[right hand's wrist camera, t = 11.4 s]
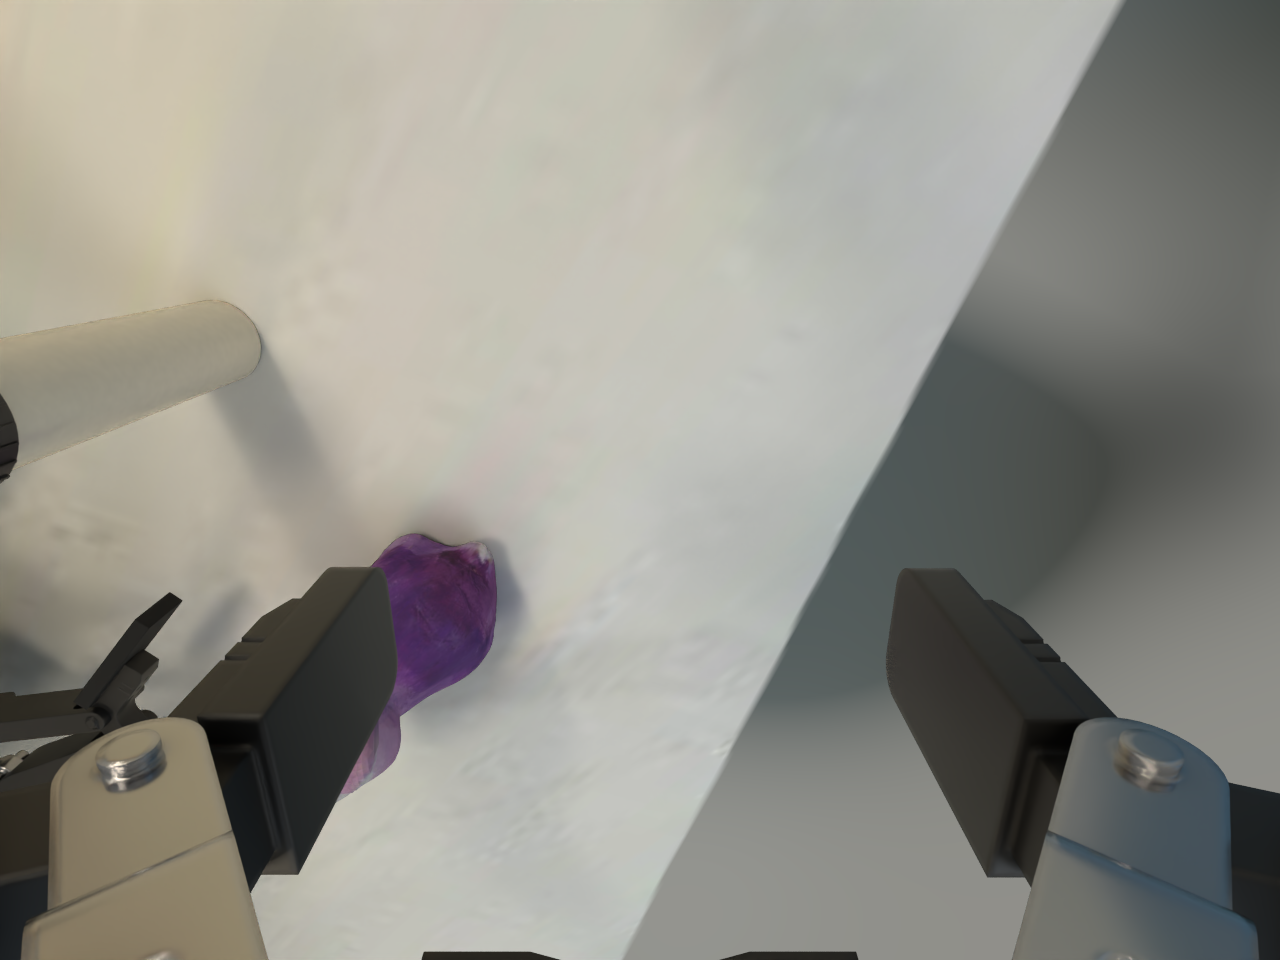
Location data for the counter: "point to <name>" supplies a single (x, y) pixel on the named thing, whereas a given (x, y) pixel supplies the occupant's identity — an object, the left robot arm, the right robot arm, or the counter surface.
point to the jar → (119, 371)
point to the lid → (7, 440)
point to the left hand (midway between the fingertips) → (33, 526)
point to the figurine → (429, 632)
